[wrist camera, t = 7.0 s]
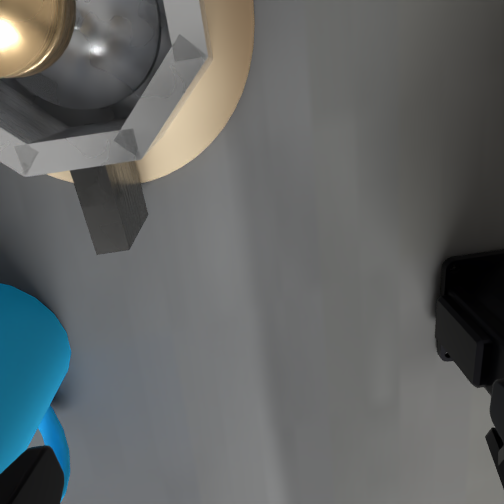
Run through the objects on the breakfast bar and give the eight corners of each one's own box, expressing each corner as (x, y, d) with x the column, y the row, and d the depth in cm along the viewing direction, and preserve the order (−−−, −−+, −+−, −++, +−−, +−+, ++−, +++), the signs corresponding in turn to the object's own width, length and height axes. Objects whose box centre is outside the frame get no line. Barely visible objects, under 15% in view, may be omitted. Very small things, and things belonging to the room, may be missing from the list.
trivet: (226, -222, 14) (225, -232, 13) (271, 161, 19) (272, 164, 19) (-155, -163, 14) (-168, -171, 14) (-5, 203, 19) (-11, 206, 19)
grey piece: (180, -148, 14) (158, -249, 10) (235, 197, 19) (237, 237, 15) (-84, -107, 14) (-229, -189, 10) (40, 226, 19) (-18, 275, 15)
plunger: (139, -95, 14) (57, -247, 7) (176, 95, 16) (142, 114, 10) (-39, -68, 14) (-285, -194, 7) (26, 118, 16) (-112, 152, 10)
